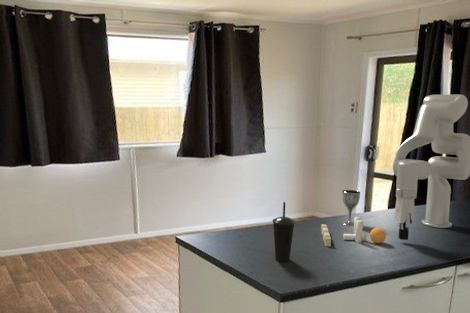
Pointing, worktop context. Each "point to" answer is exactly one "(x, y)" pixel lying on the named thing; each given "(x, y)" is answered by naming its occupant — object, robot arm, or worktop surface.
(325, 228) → the back wall
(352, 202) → the wine glass
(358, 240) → the pin
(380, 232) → the ball
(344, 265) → the worktop surface
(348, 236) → the front pin
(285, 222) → the drinking cup
